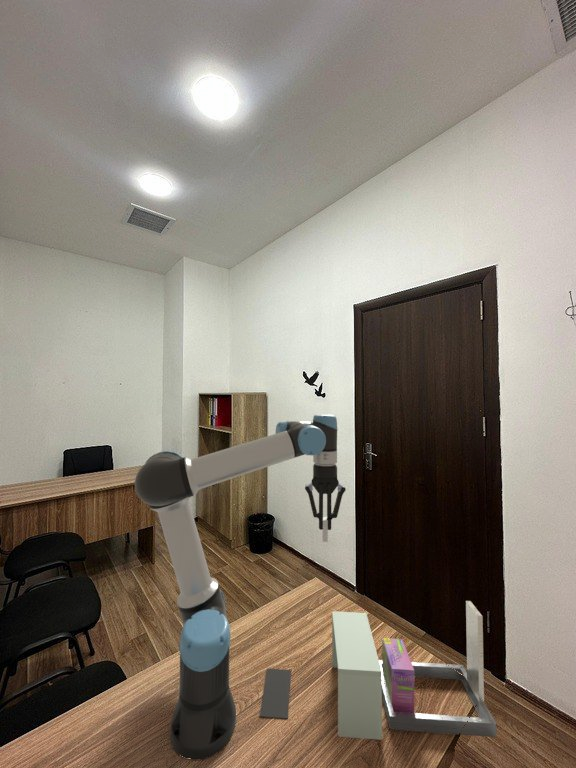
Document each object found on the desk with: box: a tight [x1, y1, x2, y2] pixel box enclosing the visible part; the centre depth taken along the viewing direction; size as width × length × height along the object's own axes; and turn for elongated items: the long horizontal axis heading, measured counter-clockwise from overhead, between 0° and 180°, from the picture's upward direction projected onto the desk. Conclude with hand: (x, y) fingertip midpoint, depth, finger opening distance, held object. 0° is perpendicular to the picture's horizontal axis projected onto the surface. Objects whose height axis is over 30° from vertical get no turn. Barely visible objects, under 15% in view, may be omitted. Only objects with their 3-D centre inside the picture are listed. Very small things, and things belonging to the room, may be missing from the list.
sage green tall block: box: [331, 610, 383, 741], centre depth 85 cm, size 10×20×15 cm, turn 176°
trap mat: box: [259, 667, 292, 720], centre depth 86 cm, size 7×14×1 cm, turn 176°
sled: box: [379, 600, 498, 738], centre depth 84 cm, size 24×16×24 cm
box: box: [381, 637, 415, 713], centre depth 84 cm, size 10×6×12 cm, turn 176°
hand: (325, 539), depth 100 cm, fingers closed
